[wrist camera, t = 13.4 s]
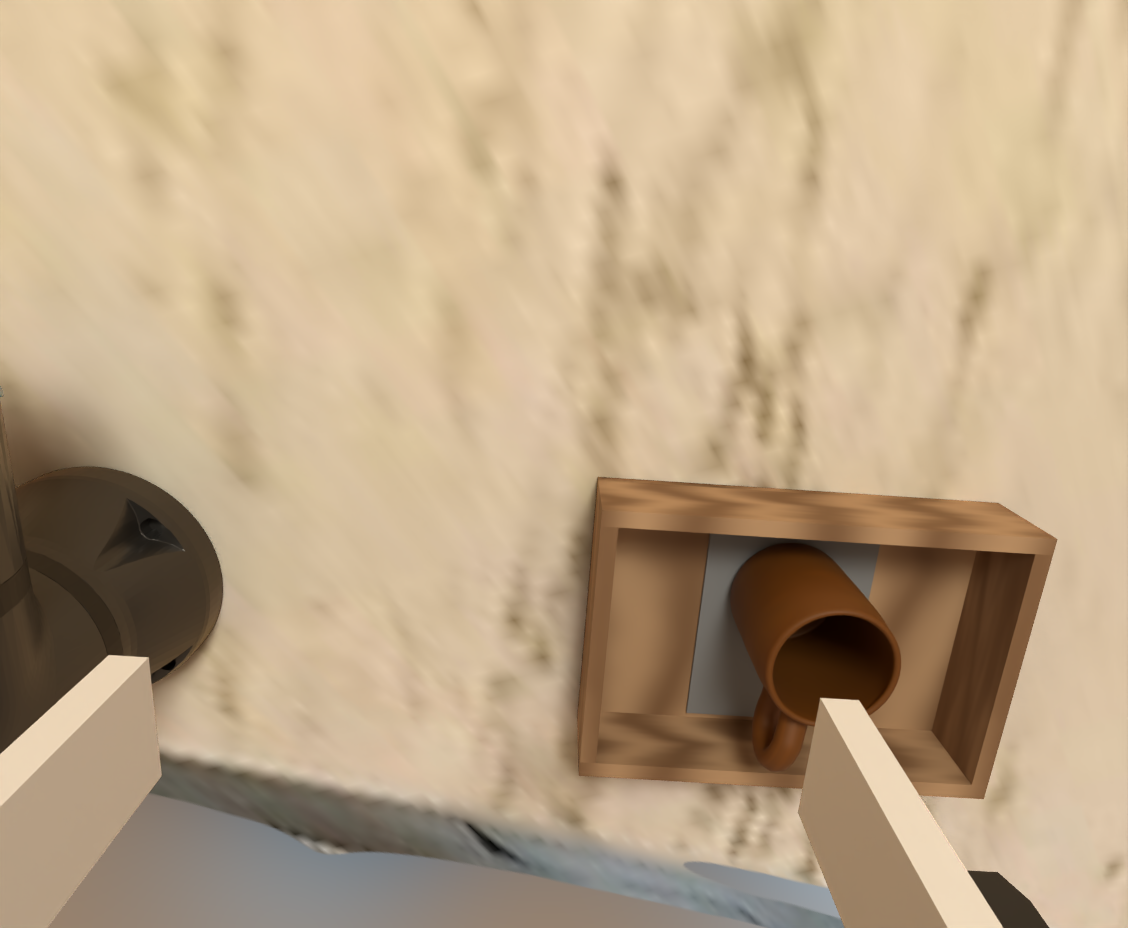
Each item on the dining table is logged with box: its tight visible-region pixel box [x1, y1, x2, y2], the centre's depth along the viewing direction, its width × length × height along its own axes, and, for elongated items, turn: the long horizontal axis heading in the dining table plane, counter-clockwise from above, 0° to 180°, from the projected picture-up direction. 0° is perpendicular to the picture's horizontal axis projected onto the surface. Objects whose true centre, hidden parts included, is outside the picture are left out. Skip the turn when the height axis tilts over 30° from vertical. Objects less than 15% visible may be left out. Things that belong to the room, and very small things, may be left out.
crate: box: [577, 477, 1057, 799], centre depth 47 cm, size 26×18×6 cm
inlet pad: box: [686, 533, 880, 717], centre depth 50 cm, size 11×15×1 cm
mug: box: [730, 543, 901, 772], centre depth 45 cm, size 12×8×9 cm, turn 162°
